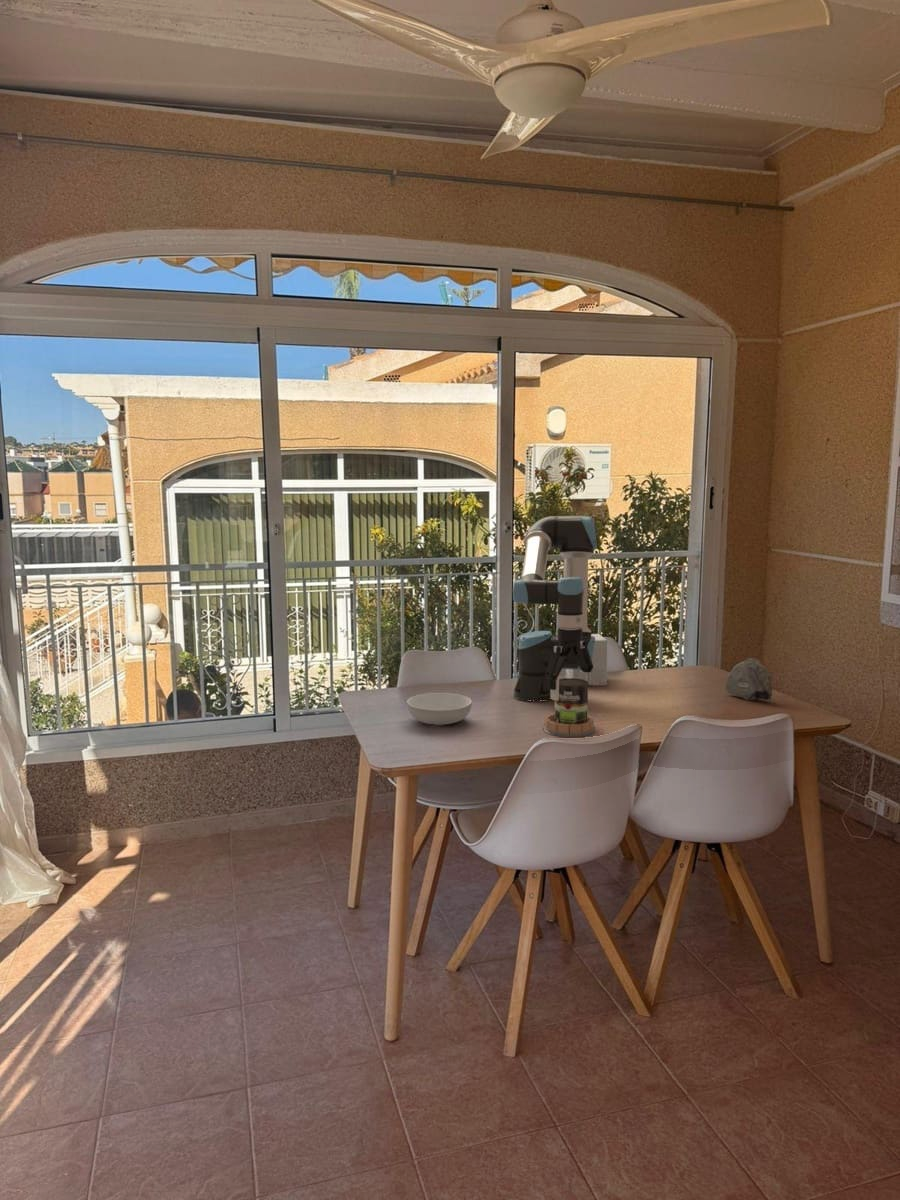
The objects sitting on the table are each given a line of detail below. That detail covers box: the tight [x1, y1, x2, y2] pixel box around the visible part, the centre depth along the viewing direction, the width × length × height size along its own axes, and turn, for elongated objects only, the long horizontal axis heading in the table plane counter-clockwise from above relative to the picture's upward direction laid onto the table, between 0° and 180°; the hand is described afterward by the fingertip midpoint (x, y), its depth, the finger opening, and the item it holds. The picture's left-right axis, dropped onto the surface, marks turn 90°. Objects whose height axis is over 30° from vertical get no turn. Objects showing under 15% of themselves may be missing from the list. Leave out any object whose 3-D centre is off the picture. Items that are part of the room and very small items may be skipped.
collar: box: [542, 712, 596, 738], centre depth 252 cm, size 16×16×4 cm
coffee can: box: [554, 677, 589, 724], centre depth 251 cm, size 10×10×14 cm
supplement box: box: [565, 633, 608, 686], centre depth 311 cm, size 13×13×18 cm
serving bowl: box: [406, 692, 473, 726], centre depth 262 cm, size 21×21×7 cm
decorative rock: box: [724, 657, 773, 701], centre depth 284 cm, size 16×7×15 cm, turn 33°
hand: (569, 696), depth 250 cm, fingers open, 13 cm apart
